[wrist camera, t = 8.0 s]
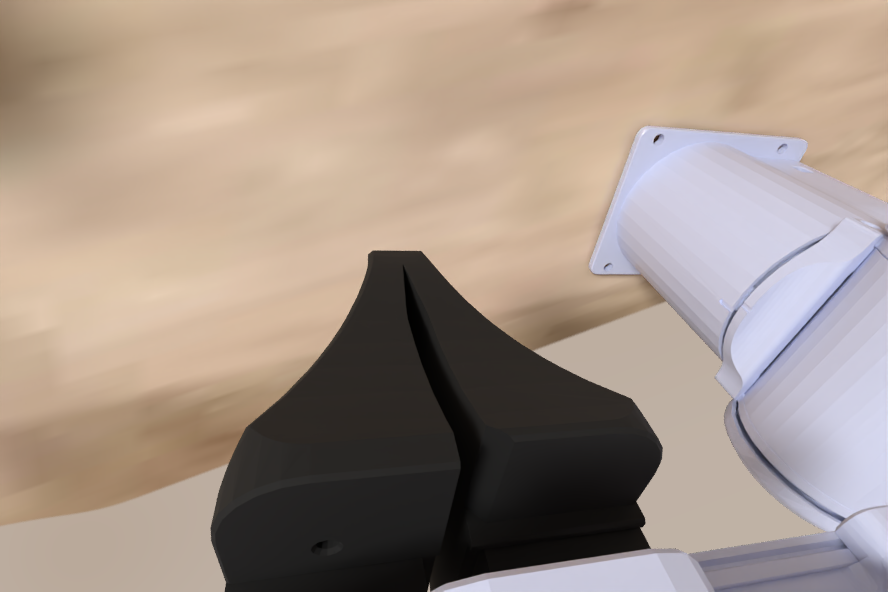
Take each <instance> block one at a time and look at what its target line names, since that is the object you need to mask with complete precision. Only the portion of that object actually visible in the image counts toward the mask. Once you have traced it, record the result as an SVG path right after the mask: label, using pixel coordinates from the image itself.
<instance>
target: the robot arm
mask: <svg viewBox="0 0 888 592" xmlns="http://www.w3.org/2000/svg"><path fill="white" fill-rule="evenodd" d="M658 134H660V135H659V138H658V140H657V141H656V142H653V141H654V138H655V137H656V136H657V135H658ZM780 146H781V147H780ZM807 146H808V143H807V141H806V140H803V139H801V138H795V137H783V136H770V135H758V134H746V133H733V132H721V131H709V130H696V129H684V128H672V127H660V126H645V127H643V128H641V129H640V130H639V131H638V133H637V135H636V137H635V140H634V142H633V145H632V148H631V150H630V153H629V156H628V159H627V161H626V164H625V167H624V170H623V172H622V175H621V178H620V181H619V183H618V186H617V189H616V192H615V194H614V197H613V200H612V203H611V205H610V208H609V211H608V213H607V216H606V219H605V222H604V224H603V227H602V230H601V233H600V235H599V238H598V241H597V244H596V246H595V249H594V252H593V255H592V257H591V260H590V263H589V269H590V270H591V272H592V273H594V274H641V275H642V276H643V277H644V278H645V279H646V280H647V281H648V282H649V283H650V284H651V285H652V286H653V287H654V288H655V290H656V291H657V292H658V293H659V294H660V295H661V296H662V297H663V298H664V299H665V300H666V301H667V302H668V304H669V305H670V306H671V307H672V308H673V309H674V310H675V311H676V312H677V313H678V314H679V315H680V316H681V317H682V319H684V321H685V322H686V323H687V324H688V325H689V326H690V327H691V328H692V329H693V330H694V331H695V333H696V334H697V335H698V336H699V337H700V338H701V339H702V340H703V341H704V342H705V343H706V344H707V345H708V346H709V348H710V349H711V350H712V351H713V352H714V353H715V354H716V355H717V356H718V357H719V358H720V359H721V360H722V361H723V363H722V366H721V368H720V370H719V371H718V373H717V374H716V376H715V379H716V380H717V381H718V382H719V383H720V384H721V386H723V388H724V389H725V390H726V391H727V392H728V393H729V395H730V396H731V397H732V398H733V400H731V401H730V403H729V404H728V405H727V407H726V410H725V414H724V423H725V427H726V430H727V434H728V436H729V438H730V441H731V443H732V445H733V447H734V448H735V450H736V452H737V454H738V456H739V457H740V459H741V461H742V462H743V464H744V465H745V467H746V468H747V469H748V471H749V472H750V473H751V474H752V476H753V477H754V478H755V479H756V480H757V481H758V482H759V483H760V485H762V487H763V488H764V489H766V490H767V492H768V493H770V494H771V495H772V496H773V497H774V498H775V499H776V500H777V501H779V502H780V503H781V504H782V505H784V506H785V507H786V508H788V509H789V510H790V511H792V512H793V513H794V514H796V515H798V516H799V517H800V518H802V519H804V520H805V521H807V522H808V523H810V524H812V525H814V526H816V527H818V528H820V529H822V530H824V531H826V532H825V533H818V534H812V535H805V536H799V537H793V538H786V539H780V540H773V541H767V542H761V543H754V544H748V545H741V546H735V547H729V548H722V549H716V550H710V551H703V552H697V553H690V554H687V553H685V552H682V551H680V550H678V549H651V548H650V546H649V544H648V542H647V540H646V538H645V536H644V535H643V533H642V531H641V529H640V527H643V526H644V525H645V517H644V515H643V513H642V512H641V510H640V508H639V506H638V504H637V502H636V501H637V499H638V498H639V497H640V495H641V494H642V492H643V491H644V489H645V488H646V486H647V485H648V483H649V482H650V480H651V479H652V477H653V476H654V475H655V473H656V471H657V468H658V467H659V465H660V462H661V460H662V449H663V448H662V445H661V443H660V441H659V439H658V438H657V436H656V435H655V433H654V431H653V430H652V428H651V427H650V425H649V424H648V422H647V420H646V419H645V417H644V416H643V414H642V413H641V412H640V410H639V409H638V407H637V406H636V405H635V403H634V402H633V400H632V399H631V398H628V397H626V396H624V395H621V394H619V393H616V392H614V391H611V390H609V389H607V388H604V387H602V386H599V385H597V384H595V383H592V382H589V381H588V380H585V379H583V378H581V377H579V376H577V375H575V374H573V373H571V372H569V371H567V370H565V369H563V368H561V367H559V366H557V365H556V364H554V363H552V362H550V361H548V360H546V359H545V358H543V357H541V356H539V355H538V354H536V353H535V352H533V351H532V350H530V349H528V348H527V347H525V346H523V345H522V344H520V343H519V342H517V341H516V340H514V339H513V338H511V337H510V336H509V335H507V334H506V333H505V332H503V331H502V330H501V329H499V328H498V327H497V326H495V325H494V324H493V323H491V322H490V321H489V320H488V319H486V318H485V317H484V316H483V315H482V314H481V313H479V312H478V311H477V310H476V309H475V308H474V307H473V306H472V305H471V304H469V303H468V302H467V301H466V300H465V299H464V298H463V297H462V296H461V295H460V294H459V293H458V292H457V291H456V290H455V289H454V288H453V287H452V285H451V284H450V283H449V282H448V281H447V280H446V279H445V278H444V277H443V276H442V274H441V273H440V272H439V271H438V270H437V269H436V268H435V266H434V265H433V264H432V263H431V262H430V260H429V259H428V258H427V257H426V256H425V255H424V254H423V253H422V251H372V252H371V253H369V254H368V268H367V271H366V275H365V278H364V281H363V284H362V286H361V289H360V291H359V294H358V296H357V298H356V300H355V302H354V304H353V306H352V308H351V310H350V312H349V314H348V316H347V318H346V319H345V321H344V323H343V324H342V326H341V328H340V329H339V331H338V332H337V334H336V335H335V337H334V338H333V340H332V341H331V343H330V344H329V345H328V346H327V348H326V349H325V350H324V352H323V353H322V354H321V356H320V357H319V358H318V359H317V361H316V362H315V363H314V364H313V365H312V367H311V368H310V369H309V370H308V371H307V372H306V373H305V374H304V375H303V376H302V377H301V378H300V379H299V380H298V381H297V382H296V383H295V384H294V385H293V386H292V388H291V389H290V390H289V391H288V392H287V393H286V394H285V395H284V396H282V397H281V398H280V399H279V400H278V401H277V402H276V403H275V404H273V405H272V406H271V407H270V408H269V409H268V410H266V411H265V412H264V413H263V414H262V415H260V416H259V417H258V418H257V419H256V420H255V421H253V422H252V423H251V424H250V425H248V426H247V427H246V429H245V431H244V433H243V435H242V437H241V439H240V441H239V443H238V445H237V447H236V449H235V451H234V453H233V455H232V458H231V460H230V462H229V465H228V467H227V470H226V472H225V475H224V478H223V481H222V484H221V487H220V490H219V493H218V498H217V502H216V507H215V511H214V516H213V520H212V525H211V541H212V544H213V547H214V550H215V553H216V555H217V558H218V561H219V564H220V567H221V569H222V572H223V575H224V578H225V581H226V587H225V592H427V590H428V586H429V582H430V592H888V203H887V202H885V201H883V200H880V199H878V198H876V197H874V196H872V195H870V194H867V193H865V192H863V191H861V190H859V189H857V188H854V187H852V186H850V185H848V184H846V183H844V182H841V181H839V180H837V179H835V178H833V177H831V176H829V175H826V174H824V173H822V172H820V171H818V170H816V169H813V168H811V167H809V166H807V165H805V164H803V163H800V162H799V161H800V160H801V158H802V156H803V155H804V153H805V151H806V149H807ZM779 147H780V148H779ZM778 148H779V149H778ZM606 264H609V265H608V266H606V267H604V266H605V265H606Z"/></svg>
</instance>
